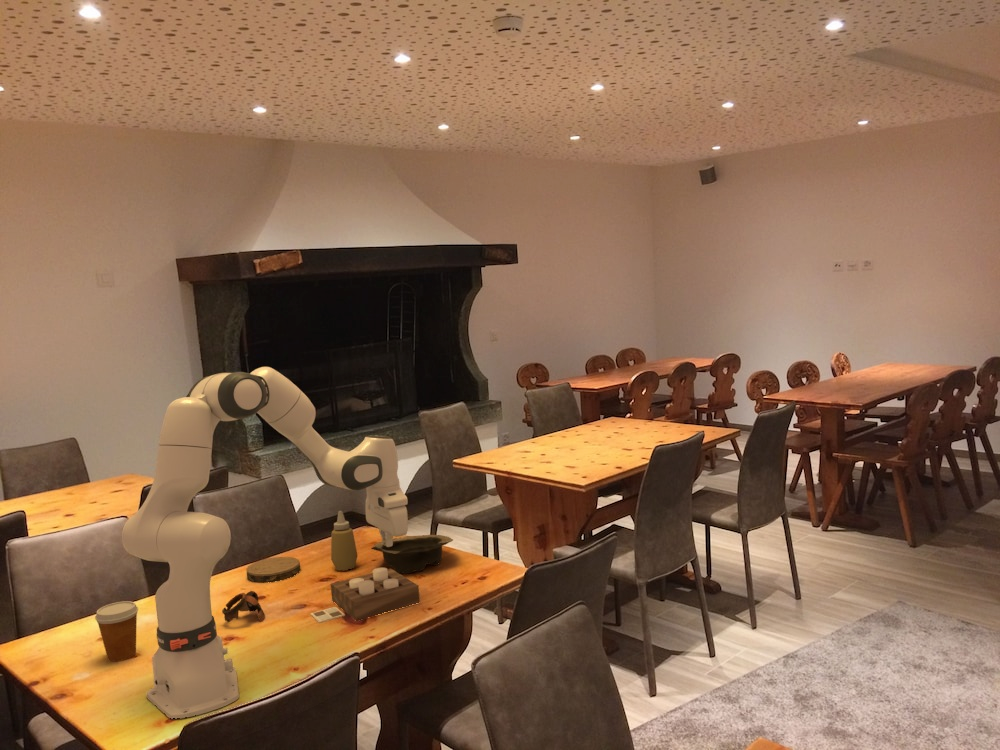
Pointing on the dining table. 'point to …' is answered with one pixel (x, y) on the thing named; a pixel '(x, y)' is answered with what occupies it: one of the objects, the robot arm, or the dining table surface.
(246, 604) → the pottery mug
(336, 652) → the dining table surface
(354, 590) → the button board
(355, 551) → the squeeze bottle
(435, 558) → the stone bowl
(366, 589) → the button front inner
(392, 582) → the button front outer
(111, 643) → the disposable coffee cup
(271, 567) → the brown wooden disc
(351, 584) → the egg
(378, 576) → the beige egg
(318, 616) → the tile
